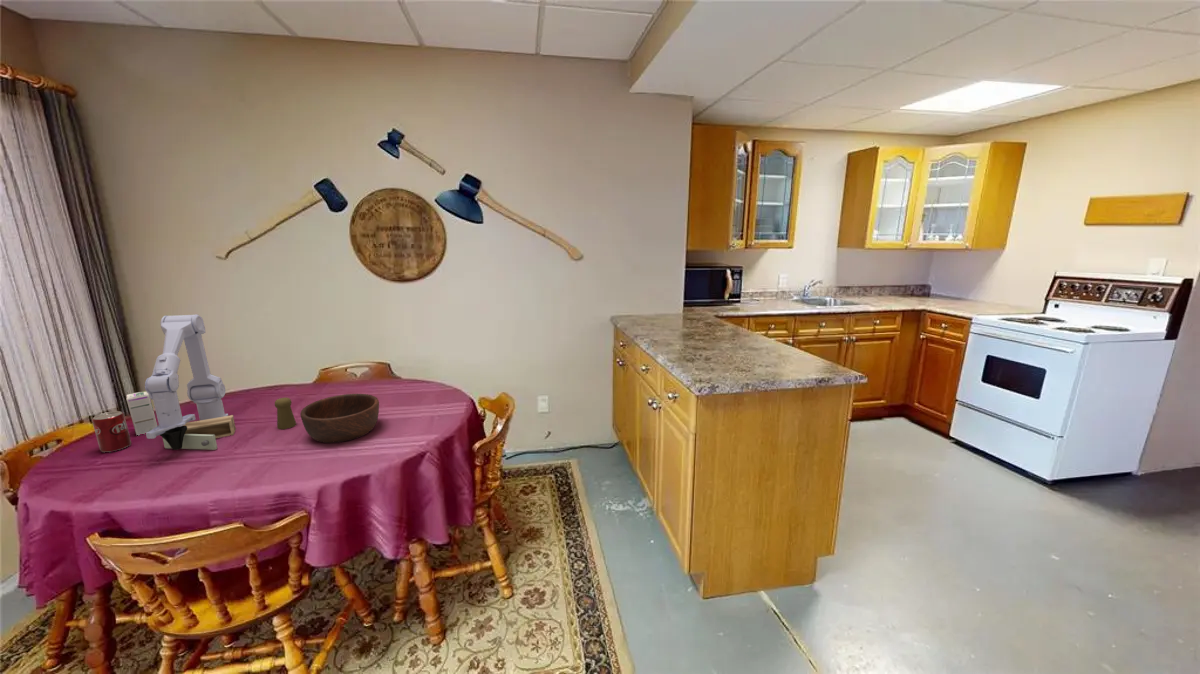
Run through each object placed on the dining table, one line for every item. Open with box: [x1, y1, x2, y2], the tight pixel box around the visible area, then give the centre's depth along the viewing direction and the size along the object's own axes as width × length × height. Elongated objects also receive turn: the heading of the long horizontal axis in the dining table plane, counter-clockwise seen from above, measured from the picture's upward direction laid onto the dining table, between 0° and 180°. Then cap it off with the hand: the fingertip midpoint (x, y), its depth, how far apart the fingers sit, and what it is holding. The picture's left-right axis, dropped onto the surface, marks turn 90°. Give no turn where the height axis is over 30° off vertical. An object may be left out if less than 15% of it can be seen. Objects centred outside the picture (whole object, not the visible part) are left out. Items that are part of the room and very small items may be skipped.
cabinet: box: [183, 414, 237, 439], centre depth 159 cm, size 6×18×6 cm, turn 123°
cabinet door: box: [161, 434, 218, 451], centre depth 150 cm, size 2×18×5 cm, turn 88°
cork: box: [274, 397, 297, 430], centre depth 168 cm, size 6×6×11 cm
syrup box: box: [126, 390, 158, 436], centre depth 162 cm, size 6×6×14 cm
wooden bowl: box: [300, 393, 380, 444], centre depth 165 cm, size 25×25×10 cm
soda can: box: [91, 411, 132, 453], centre depth 150 cm, size 7×7×12 cm
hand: (177, 448), depth 148 cm, fingers closed
